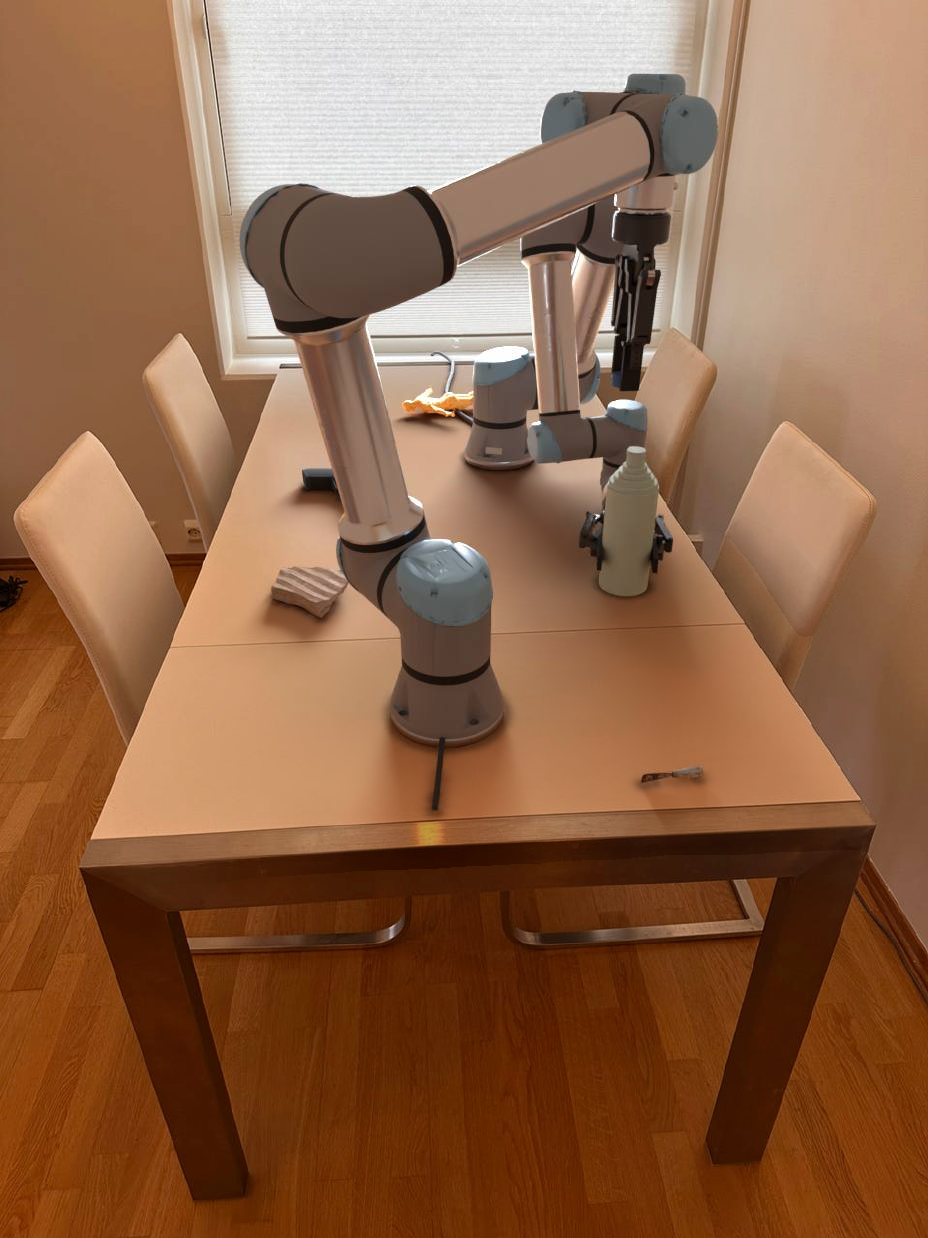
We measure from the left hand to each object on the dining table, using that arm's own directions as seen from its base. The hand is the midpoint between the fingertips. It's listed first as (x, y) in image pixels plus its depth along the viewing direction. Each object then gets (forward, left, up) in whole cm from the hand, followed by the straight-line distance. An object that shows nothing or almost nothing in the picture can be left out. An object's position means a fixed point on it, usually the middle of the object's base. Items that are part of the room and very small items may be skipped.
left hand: (624, 385), depth 130 cm
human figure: (+84, +45, -35) cm, 101 cm away
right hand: (-2, -3, -29) cm, 29 cm away
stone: (-12, +48, -35) cm, 60 cm away
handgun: (+28, +57, -35) cm, 72 cm away
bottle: (+3, -3, -35) cm, 35 cm away
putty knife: (-45, -12, -35) cm, 58 cm away
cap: (0, 0, +1) cm, 1 cm away
